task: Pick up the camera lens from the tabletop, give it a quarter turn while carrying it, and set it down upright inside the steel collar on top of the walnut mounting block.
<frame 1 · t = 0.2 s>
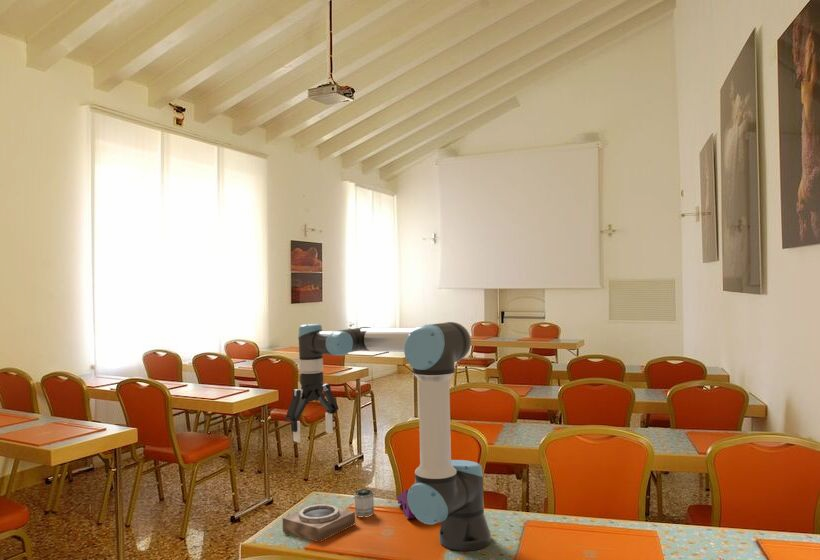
hand: (313, 437, 205), 27 cm above the table, tool pointing down, fingers open, 13 cm apart
camera lens: (364, 515, 209), on the table
mounting bracket: (415, 511, 211), on the table
mount block: (319, 527, 199), on the table
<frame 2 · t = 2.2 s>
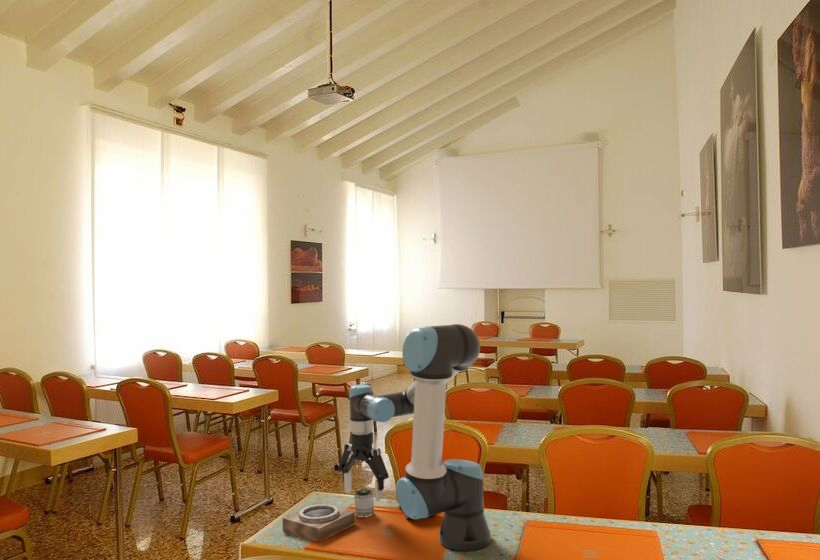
hand: (363, 495, 209), 6 cm above the table, tool pointing down, fingers open, 13 cm apart
nothing on the table moved.
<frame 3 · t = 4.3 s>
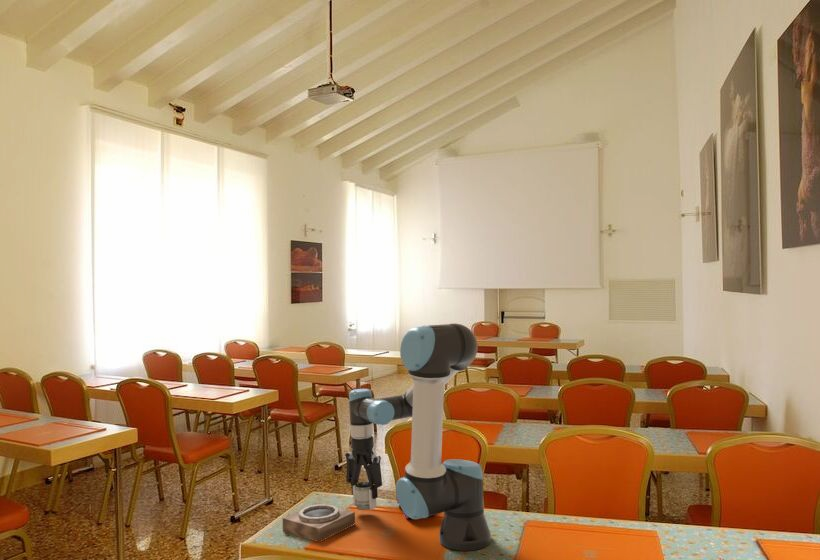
hand: (365, 506, 209), 3 cm above the table, tool pointing down, fingers closed on camera lens, 6 cm apart
camera lens: (365, 507, 208), point 2 cm above the table, touching gripper
everything else where it was.
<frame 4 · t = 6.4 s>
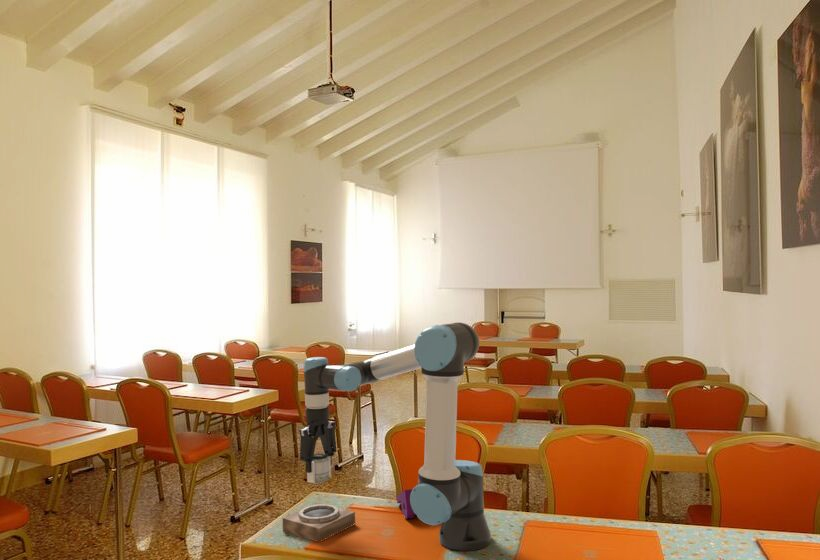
hand: (319, 479, 200), 15 cm above the table, tool pointing down, fingers closed on camera lens, 6 cm apart
camera lens: (319, 480, 200), point 15 cm above the table, touching gripper
everything else where it was.
when the fingers open (5 cm above the table, at t = 8.6 s): camera lens stays where it is, resting on mount block.
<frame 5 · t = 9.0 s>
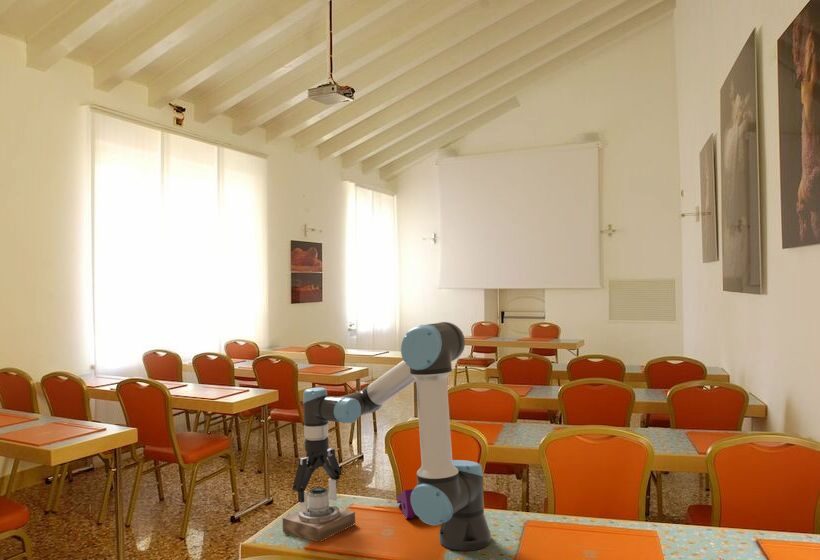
hand: (318, 505, 199), 7 cm above the table, tool pointing down, fingers open, 12 cm apart
camera lens: (319, 514, 199), point 4 cm above the table, touching mount block
everything else where it was.
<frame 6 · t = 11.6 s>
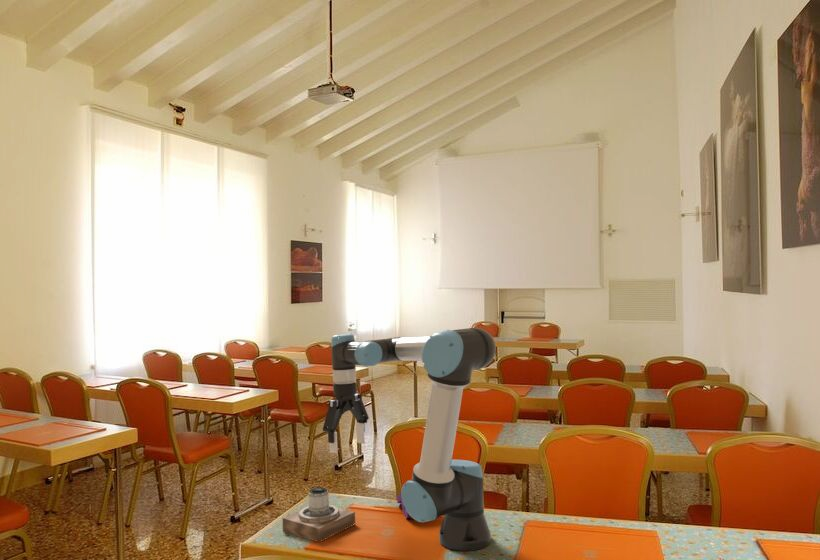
hand: (347, 447, 204), 24 cm above the table, tool pointing down, fingers open, 13 cm apart
nothing on the table moved.
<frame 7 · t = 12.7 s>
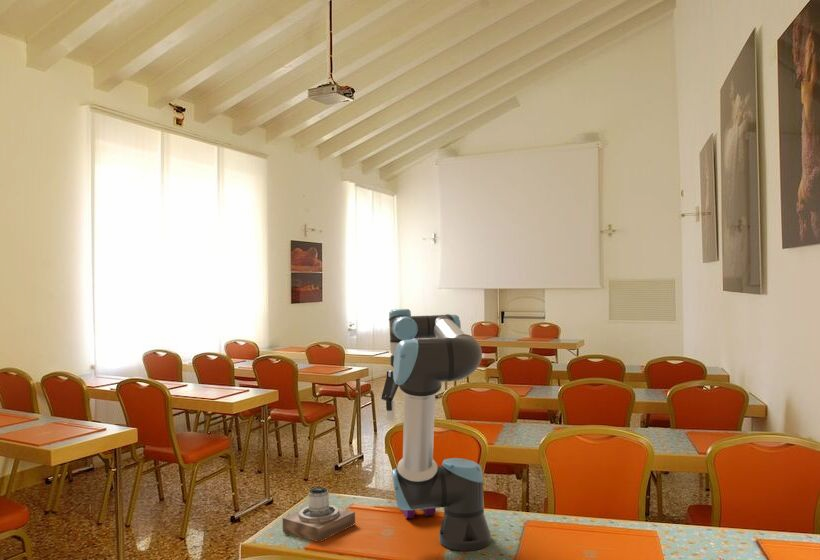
hand: (403, 416, 216), 31 cm above the table, tool pointing down, fingers open, 13 cm apart
nothing on the table moved.
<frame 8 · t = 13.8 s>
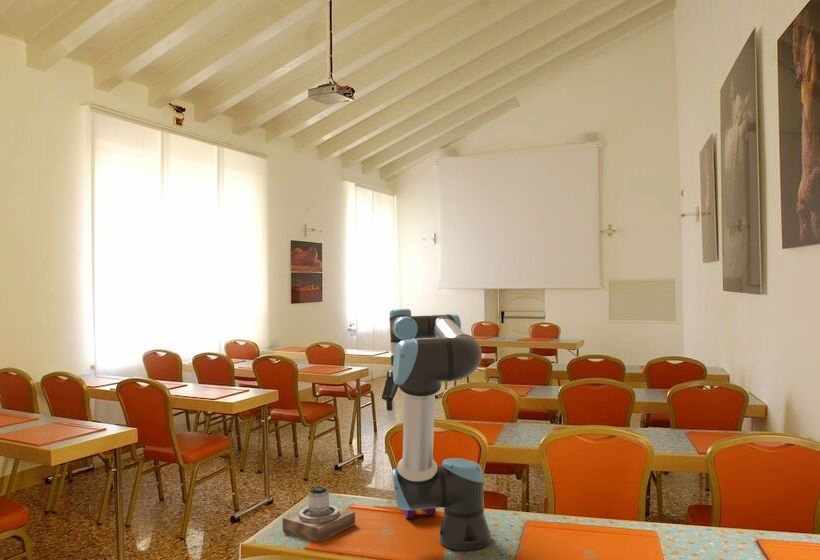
hand: (403, 416, 216), 31 cm above the table, tool pointing down, fingers open, 13 cm apart
nothing on the table moved.
at the end: camera lens 0.1 cm from the mount block (horizontally); camera lens point 4.1 cm above the table; camera lens tilted 0° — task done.
